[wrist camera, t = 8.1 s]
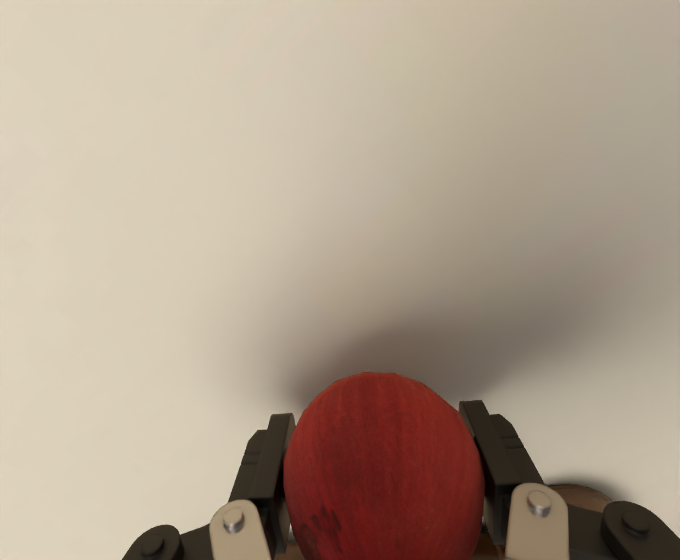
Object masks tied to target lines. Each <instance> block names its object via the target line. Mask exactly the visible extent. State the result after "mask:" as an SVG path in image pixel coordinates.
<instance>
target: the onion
mask: <svg viewBox="0 0 680 560" xmlns="http://www.w3.org/2000/svg"><path fill="white" fill-rule="evenodd" d="M485 484H486V483H485V476H484V469H483V463H482V459H481V455H480V453H479V451H478V449H477V447H476V445H475V443H474V440H473V438H472V436H471V434H470V432H469V430H468V428H467V427H466V425H465V423H464V421H463V419H462V417H461V415H460V413H459V412H458V411H457V410H456V409H455V408H453V407H452V406H451V405H450V404H448V403H447V402H446V401H445V400H443V399H442V398H441V397H440V396H438V395H437V394H436V393H435V392H433V391H432V390H431V389H429V388H428V387H427V386H425V385H424V384H423V383H421V382H418V381H415V380H412V379H409V378H407V377H404V376H401V375H398V374H395V373H373V372H364V373H360V374H356V375H352V376H349V377H346V378H343V379H341V380H338V381H336V382H335V383H333V384H332V385H331V386H329V387H328V388H327V389H325V390H324V391H323V392H322V393H320V394H319V395H318V396H316V398H315V399H314V400H313V401H312V402H311V403H310V405H309V406H308V407H307V408H306V409H305V410H304V412H303V413H302V415H301V417H300V419H299V421H298V423H297V425H296V427H295V429H294V431H293V433H292V435H291V438H290V441H289V445H288V448H287V451H286V454H285V458H284V479H283V487H284V492H285V498H286V504H287V510H288V514H289V519H290V523H291V527H292V531H293V535H294V537H295V539H296V542H297V544H298V546H299V548H300V551H301V553H302V555H303V556H304V558H305V560H470V559H471V557H472V555H473V552H474V550H475V548H476V546H477V542H478V539H479V535H480V531H481V527H482V517H483V506H484V495H485Z"/></svg>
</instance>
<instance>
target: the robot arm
mask: <svg viewBox="0 0 680 560" xmlns="http://www.w3.org/2000/svg"><path fill="white" fill-rule="evenodd" d="M459 413H460V415H461V417H462V419H463V421H464V423H465V425H466V427H467V428H468V430H469V432H470V434H471V436H472V438H473V440H474V443H475V445H476V447H477V449H478V451H479V453H480V455H481V459H482V463H483V469H484V476H485V483H486V484H485V495H484V506H483V516H484V519H485V522H486V525H487V528H488V531H489V534H490V536H491V539H492V542H493V545H503V544H504V545H505V555H504V557H503V560H680V539H679V538H678V537H677V536H676V535H675V534H674V532H673V531H672V530H671V529H670V528H669V527H668V526H667V525H666V524H665V523H664V522H663V521H662V520H661V519H660V518H659V517H657V516H656V515H655V514H654V513H652V512H651V511H649V510H648V509H646V508H644V507H642V506H640V505H637V504H635V503H631V502H626V501H614V502H611V503H609V504H607V505H606V506H605V508H604V510H603V513H602V512H598V511H593V510H588V509H584V508H579V507H576V506H573V505H570V504H568V503H566V502H565V501H564V500H563V499H562V497H561V496H560V495H559V494H558V493H557V492H555V491H554V490H552V489H551V488H549V487H547V486H546V485H545V484H544V482H543V480H542V478H541V476H540V474H539V473H538V471H537V469H536V467H535V465H534V464H533V462H532V460H531V458H530V456H529V455H528V453H527V451H526V449H525V448H524V445H523V444H522V442H521V440H520V438H518V435H517V433H516V431H515V429H514V427H513V426H512V424H511V423H510V422H509V421H508V420H506V419H505V418H504V417H503V416H502V415H500V414H492V415H489V413H488V411H487V409H486V407H485V405H484V403H483V401H482V400H473V401H460V403H459ZM295 427H296V426H295V420H294V415H293V413H285V414H272V415H271V418H270V421H269V425H268V429H267V430H257V432H256V433H255V434H254V435H253V436H252V437H251V439H250V440H249V441H248V444H247V447H246V450H245V453H244V454H245V455H244V456H243V459H242V462H241V466H240V468H239V471H238V474H237V477H236V480H235V483H234V486H233V489H232V492H231V495H230V498H229V501H228V503H227V504H225V505H224V506H222V507H221V508H220V509H219V510H218V511H217V512H216V513H215V514H214V516H213V518H212V519H211V522H210V523H209V524H207V525H205V526H203V527H201V528H198V529H195V530H192V531H189V532H187V533H184V534H181V535H180V534H179V531H178V530H177V529H176V528H175V527H174V526H171V525H160V526H156V527H154V528H151V529H149V530H148V531H146V532H145V533H143V534H142V535H141V536H140V537H138V538H137V539H136V540H135V542H134V543H133V544H132V545H131V547H130V548H129V550H128V551H127V553H126V554H125V556H124V557H123V559H122V560H274V559H275V555H283V554H286V548H287V542H288V536H289V529H290V519H289V514H288V510H287V504H286V498H285V492H284V487H283V479H284V458H285V454H286V451H287V448H288V445H289V441H290V438H291V435H292V433H293V431H294V429H295Z"/></svg>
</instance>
